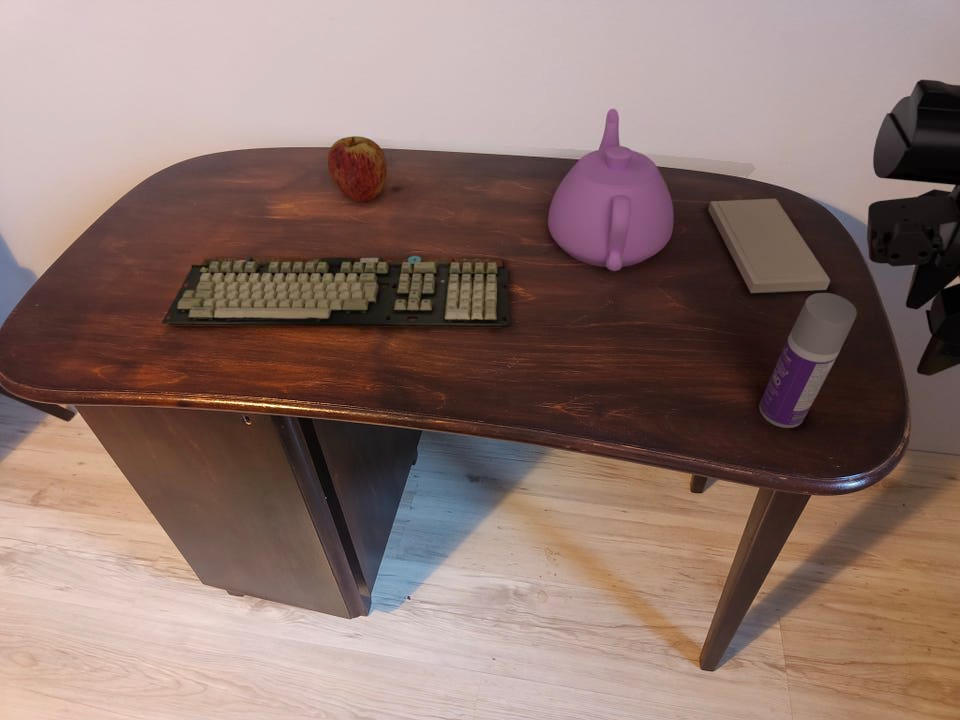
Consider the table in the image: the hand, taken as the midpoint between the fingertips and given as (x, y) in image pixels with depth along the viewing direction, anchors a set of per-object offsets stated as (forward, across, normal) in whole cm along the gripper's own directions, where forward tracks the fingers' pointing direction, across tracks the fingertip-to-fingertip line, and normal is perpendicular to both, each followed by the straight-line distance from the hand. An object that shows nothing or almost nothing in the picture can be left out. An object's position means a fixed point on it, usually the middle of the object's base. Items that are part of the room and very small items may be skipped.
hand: (916, 338), depth 58 cm
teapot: (+14, -28, -32) cm, 45 cm away
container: (+14, 0, -8) cm, 16 cm away
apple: (+16, -27, -72) cm, 79 cm away
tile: (+14, -31, -11) cm, 35 cm away
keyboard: (+15, -4, -63) cm, 65 cm away
